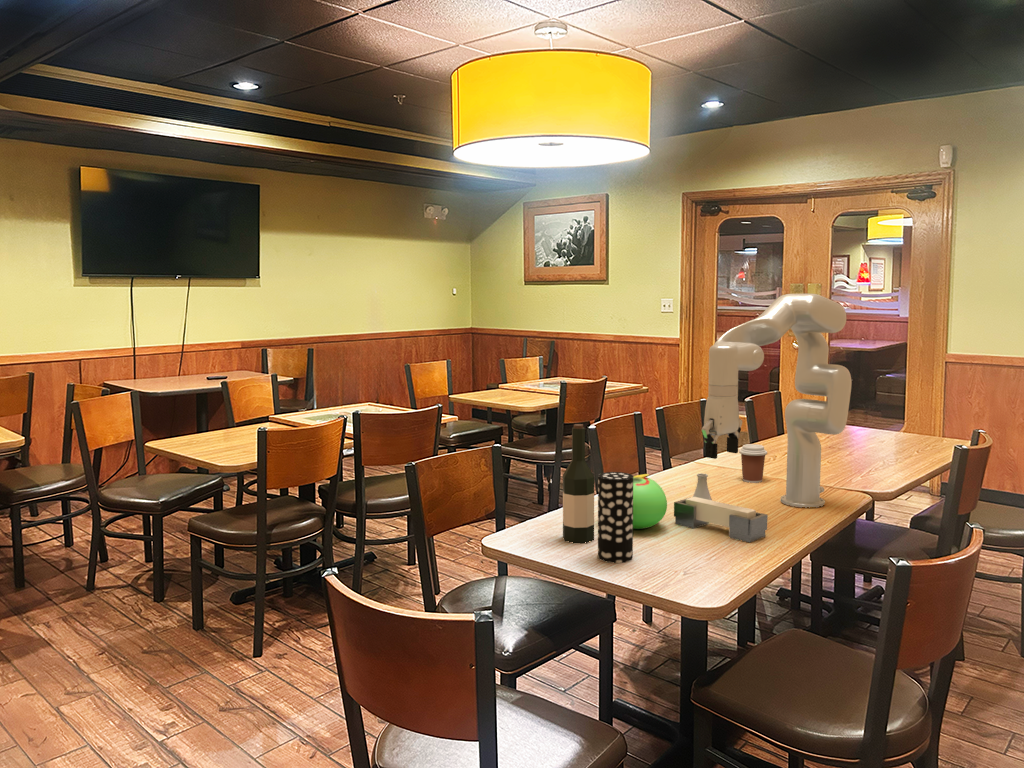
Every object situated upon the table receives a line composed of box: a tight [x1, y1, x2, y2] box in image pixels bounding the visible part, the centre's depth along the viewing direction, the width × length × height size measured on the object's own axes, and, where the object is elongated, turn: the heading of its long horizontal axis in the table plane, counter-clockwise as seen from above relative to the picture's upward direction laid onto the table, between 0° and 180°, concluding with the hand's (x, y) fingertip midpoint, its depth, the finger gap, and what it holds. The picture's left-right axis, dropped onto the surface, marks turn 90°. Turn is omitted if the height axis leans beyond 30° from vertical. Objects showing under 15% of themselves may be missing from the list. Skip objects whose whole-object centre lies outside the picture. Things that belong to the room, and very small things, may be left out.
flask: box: [692, 473, 713, 501], centre depth 230 cm, size 7×7×10 cm
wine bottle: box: [562, 423, 595, 544], centre depth 199 cm, size 8×8×30 cm
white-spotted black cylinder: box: [597, 471, 634, 564], centre depth 185 cm, size 8×8×20 cm
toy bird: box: [633, 473, 668, 530], centre depth 211 cm, size 18×17×15 cm
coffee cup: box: [738, 443, 768, 484], centre depth 263 cm, size 9×9×12 cm
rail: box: [685, 496, 757, 528], centre depth 207 cm, size 4×19×5 cm, turn 42°
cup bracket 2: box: [728, 511, 769, 543], centre depth 201 cm, size 8×6×6 cm
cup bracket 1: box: [673, 497, 709, 529], centre depth 214 cm, size 8×6×6 cm
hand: (722, 455), depth 206 cm, fingers open, 9 cm apart
